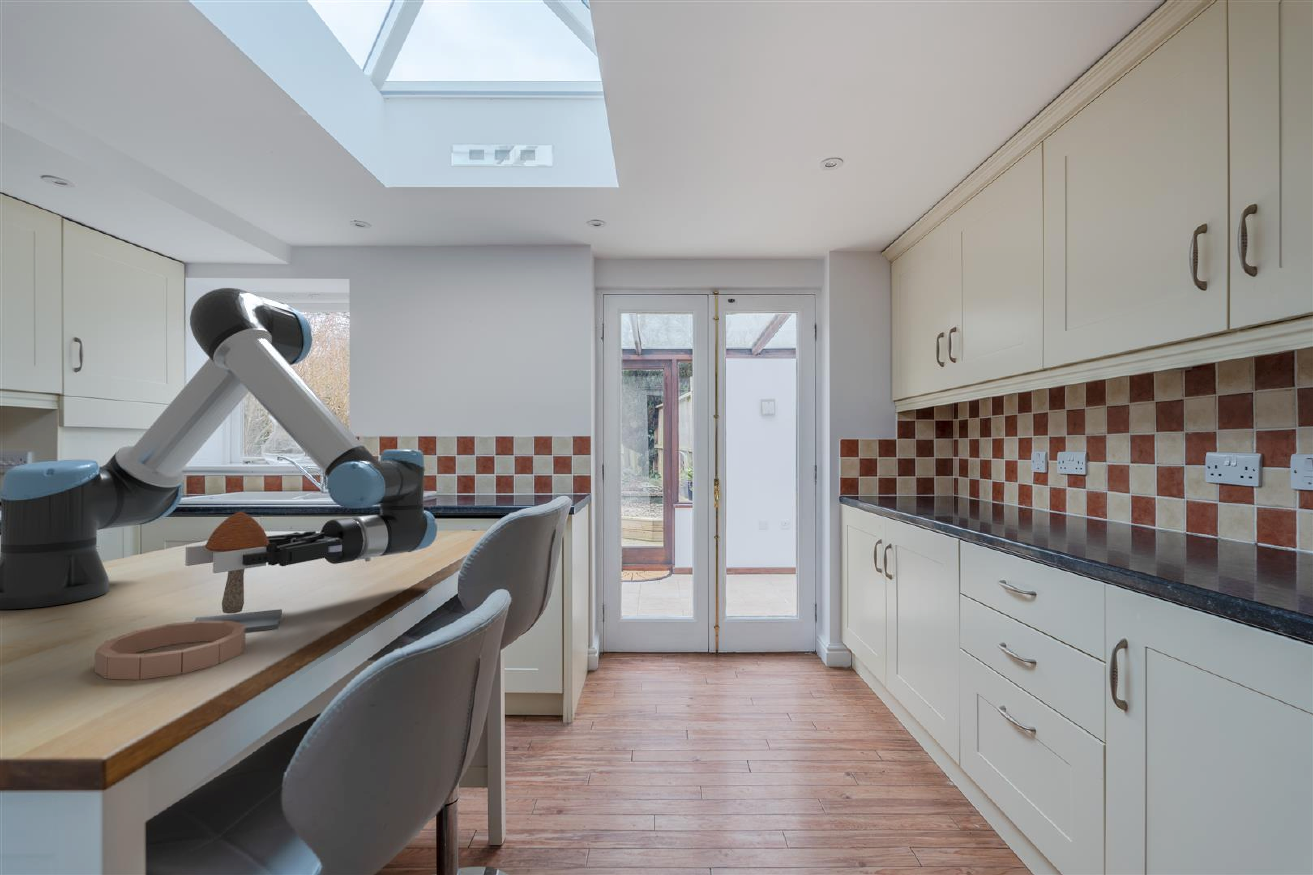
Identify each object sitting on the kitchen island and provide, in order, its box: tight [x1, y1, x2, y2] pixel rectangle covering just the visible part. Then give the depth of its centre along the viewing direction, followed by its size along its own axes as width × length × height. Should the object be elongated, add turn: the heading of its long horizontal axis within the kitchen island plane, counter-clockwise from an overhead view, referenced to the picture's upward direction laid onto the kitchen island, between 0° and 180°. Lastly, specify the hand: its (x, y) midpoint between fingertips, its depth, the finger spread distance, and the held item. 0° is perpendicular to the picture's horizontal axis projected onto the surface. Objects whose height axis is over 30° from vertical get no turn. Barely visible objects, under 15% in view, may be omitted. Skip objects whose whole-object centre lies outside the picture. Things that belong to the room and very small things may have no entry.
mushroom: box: [204, 510, 269, 615], centre depth 90 cm, size 8×8×15 cm
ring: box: [94, 620, 247, 680], centre depth 76 cm, size 14×14×2 cm
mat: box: [193, 608, 283, 633], centre depth 90 cm, size 9×11×1 cm
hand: (200, 559), depth 86 cm, fingers closed on mushroom, 8 cm apart
